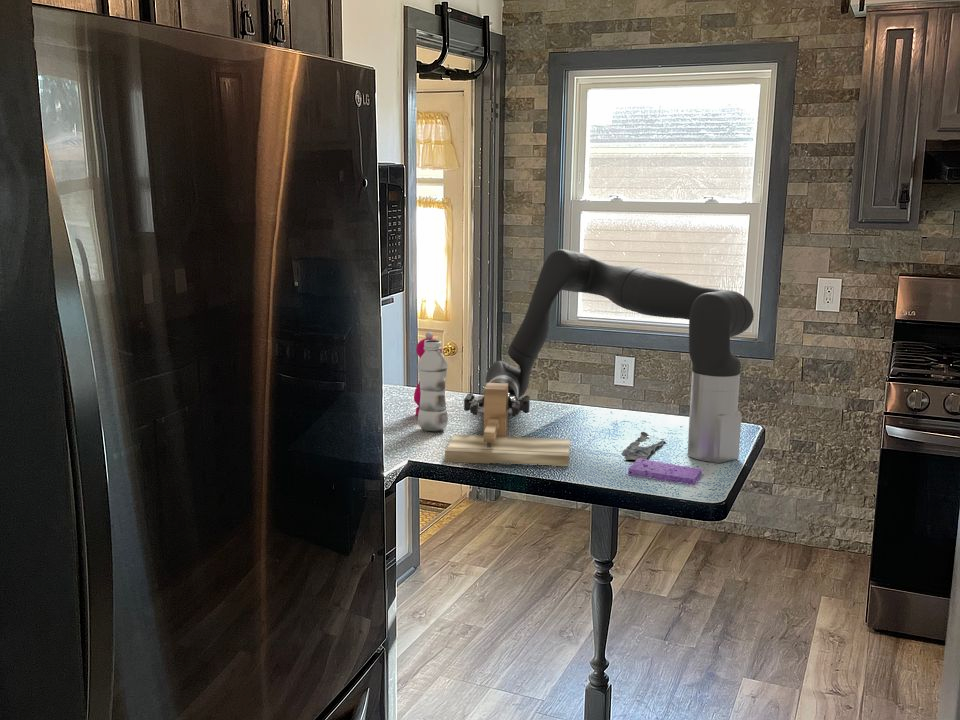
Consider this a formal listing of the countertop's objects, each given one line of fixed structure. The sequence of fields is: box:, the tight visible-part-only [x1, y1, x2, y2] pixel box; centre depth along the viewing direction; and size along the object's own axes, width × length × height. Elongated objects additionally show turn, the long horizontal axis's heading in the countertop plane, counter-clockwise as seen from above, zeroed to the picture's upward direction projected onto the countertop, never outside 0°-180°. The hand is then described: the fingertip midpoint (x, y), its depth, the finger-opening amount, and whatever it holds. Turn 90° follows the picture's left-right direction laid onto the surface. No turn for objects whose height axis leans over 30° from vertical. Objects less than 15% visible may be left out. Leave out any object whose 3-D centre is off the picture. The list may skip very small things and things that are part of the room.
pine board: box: [444, 434, 571, 467], centre depth 175 cm, size 12×24×2 cm, turn 83°
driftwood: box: [621, 431, 667, 462], centre depth 180 cm, size 21×7×2 cm, turn 153°
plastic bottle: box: [417, 339, 449, 432], centre depth 191 cm, size 6×7×20 cm
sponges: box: [627, 458, 703, 485], centre depth 164 cm, size 7×13×2 cm, turn 63°
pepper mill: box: [413, 331, 443, 418], centre depth 204 cm, size 7×7×20 cm
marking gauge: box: [483, 383, 509, 448], centre depth 178 cm, size 18×4×12 cm, turn 174°
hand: (494, 411), depth 182 cm, fingers open, 8 cm apart
